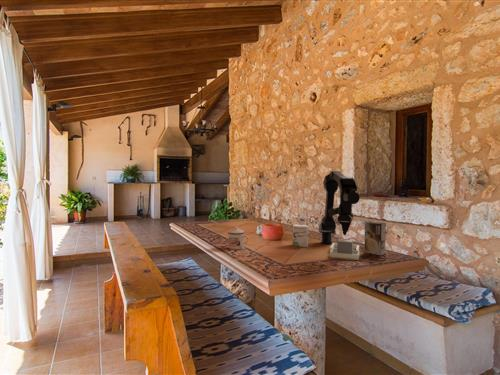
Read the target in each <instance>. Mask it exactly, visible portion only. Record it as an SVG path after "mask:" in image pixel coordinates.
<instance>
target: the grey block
mask: <svg viewBox="0 0 500 375" xmlns="http://www.w3.org/2000/svg"><path fill="white" fill-rule="evenodd" d="M336 243H337V253H345V254H353V250H354V249H353V244H354V241H353V240H352V239H343V238H338V239H337V242H336Z"/></svg>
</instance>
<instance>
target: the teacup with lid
mask: <svg viewBox="0 0 500 375" xmlns="http://www.w3.org/2000/svg"><path fill="white" fill-rule="evenodd" d="M227 238H228V239H227V245H228V246H227V248H228V249H230V250H242V249H244V247H245V245H247V244H249V241H250V237H249V236H248V235H247V234H245V230H242V229H240V228H239V226H234V228H231V230H228V232H227ZM245 238H247V240H246V242H245Z"/></svg>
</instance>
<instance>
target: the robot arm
mask: <svg viewBox="0 0 500 375" xmlns="http://www.w3.org/2000/svg"><path fill="white" fill-rule="evenodd" d="M322 183H323V188H324V190H325V192H326V193H325V194H326V195H325V207H324V216H323V217H322V218H321V221H320V223H319V226H318V233H320V234H321V241H320V242H319V243H320V244H326V245H328V244H329V245H332V244H333V243H334V242H333V241H332V236H333V235H332V234H335V233H336V227H337V225H336V221H335V219H334V218H333V216H335V215H338V216H337V218H336V219H337V223H339V224H340V225H341V230H342V235H343V236H346V235H347V233H348V231H349V228H350V226H351V224H352V222H353V220H354V213H353V212H352V211H353V205H357V203H359V202H360V197H361V196H360V195H359V193H358V185H357V183H356V180H355V179H354V177H353V176H346V175H344V173H341V171H338V170H332V171H330V173H329V174H327V175H325V177H324V179H323V182H322ZM338 189H339V190H340V191H339V195H340V196H339V205H338V207H334V203H335V195H336V194H335V193H336V192H337V191H338Z"/></svg>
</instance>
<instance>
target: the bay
mask: <svg viewBox="0 0 500 375" xmlns="http://www.w3.org/2000/svg"><path fill="white" fill-rule="evenodd" d="M332 248H337V242H332V244H330V247H329V252H330V251H331V249H332ZM355 249H356V250H360V244H354V243H353V250H355Z"/></svg>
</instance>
